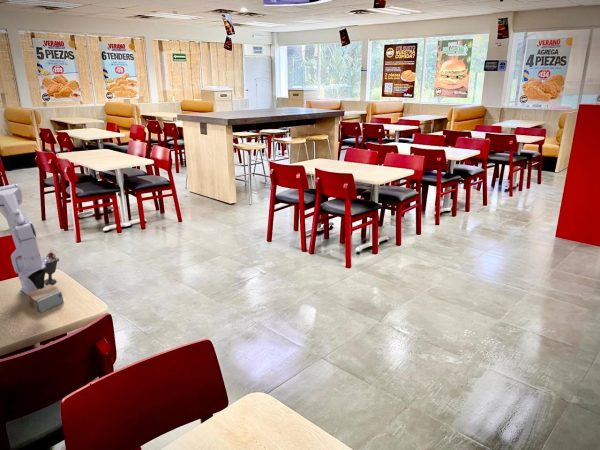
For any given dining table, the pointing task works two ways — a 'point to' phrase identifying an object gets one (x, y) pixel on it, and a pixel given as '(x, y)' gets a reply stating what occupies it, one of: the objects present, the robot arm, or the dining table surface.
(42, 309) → the door
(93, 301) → the dining table surface
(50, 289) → the cabinet
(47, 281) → the sundae
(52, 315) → the dining table surface
